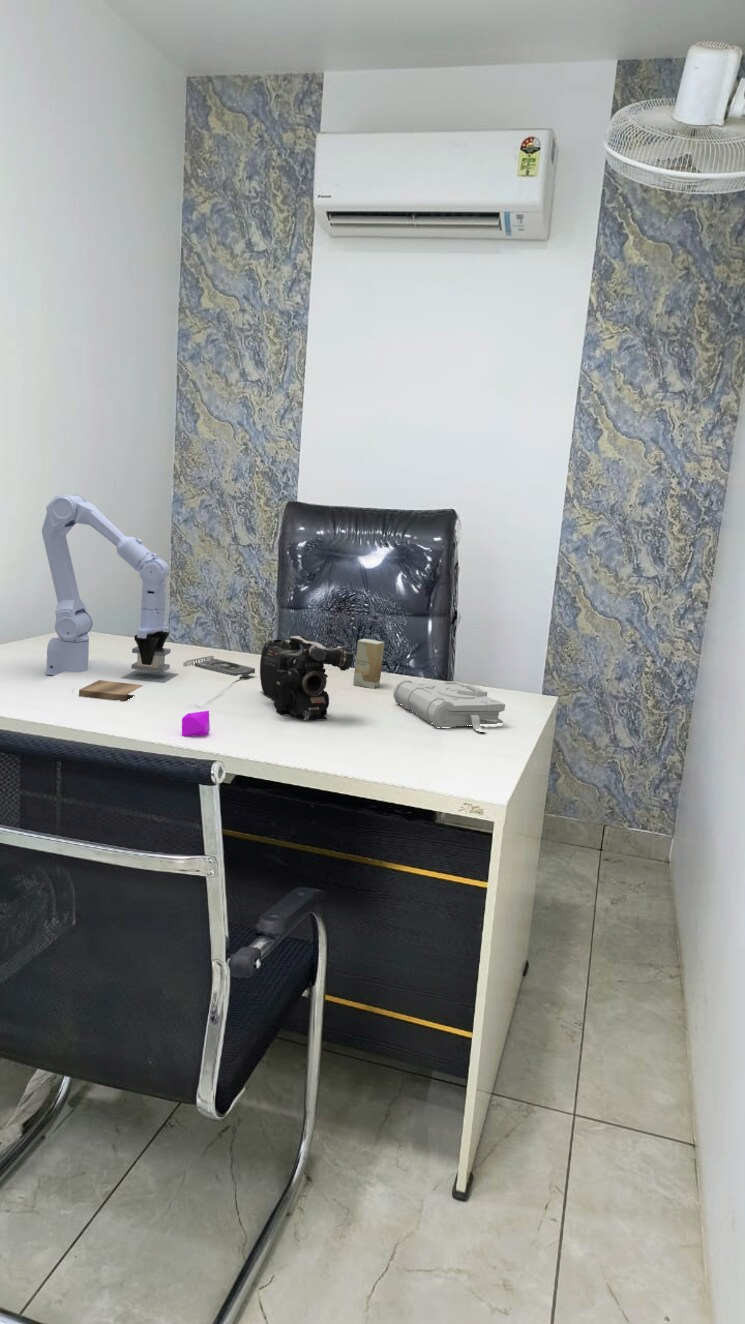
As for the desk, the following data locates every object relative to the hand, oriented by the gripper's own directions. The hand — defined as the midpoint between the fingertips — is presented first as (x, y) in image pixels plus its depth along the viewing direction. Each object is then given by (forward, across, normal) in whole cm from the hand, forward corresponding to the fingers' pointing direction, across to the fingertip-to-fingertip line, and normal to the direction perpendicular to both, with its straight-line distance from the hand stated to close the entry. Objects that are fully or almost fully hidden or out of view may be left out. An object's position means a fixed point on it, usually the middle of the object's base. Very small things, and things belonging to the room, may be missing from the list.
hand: (150, 662), depth 229 cm
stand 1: (+5, -16, +3) cm, 17 cm away
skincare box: (+5, +22, -52) cm, 56 cm away
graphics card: (+6, +17, -13) cm, 22 cm away
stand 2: (+5, 0, 0) cm, 5 cm away
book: (+5, -1, -75) cm, 76 cm away
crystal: (+5, -39, -24) cm, 46 cm away
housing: (+2, 0, 0) cm, 2 cm away
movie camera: (+5, -9, -39) cm, 40 cm away
